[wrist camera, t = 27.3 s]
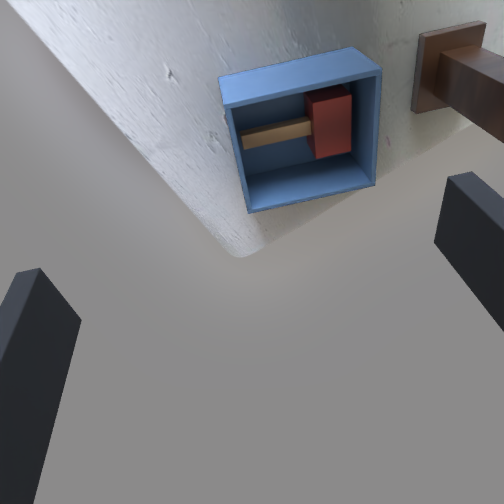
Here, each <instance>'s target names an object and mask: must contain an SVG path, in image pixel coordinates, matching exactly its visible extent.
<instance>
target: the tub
mask: <svg viewBox="0 0 504 504" xmlns="http://www.w3.org/2000/svg"><path fill="white" fill-rule="evenodd" d="M218 81H219V86H220V90H221V95H222V100H223V105H224V109H225V113H226V118H227V122H228V127H229V131H230V136H231V140H232V145H233V149H234V153H235V158H236V162H237V167H238V171H239V176H240V180H241V185H242V189H243V193H244V198H245V202H246V207H247V211H248V214H251V213H255V212H259V211H264V210H268V209H273V208H277V207H282V206H286V205H291V204H295V203H300V202H304V201H309V200H313V199H318V198H322V197H327V196H331V195H336V194H340V193H345V192H349V191H354V190H358V189H362V188H367V187H371V186H375V181H376V165H377V148H378V132H379V116H380V99H381V83H382V68H381V67H380V66H379V65H377V64H376V63H375V62H373V61H372V60H370V59H369V58H368V57H366V56H365V55H364V54H362V53H361V52H359V51H358V50H357V49H355V48H354V47H348V48H344V49H339V50H335V51H330V52H326V53H322V54H317V55H313V56H309V57H304V58H300V59H296V60H291V61H287V62H283V63H278V64H274V65H270V66H265V67H261V68H256V69H252V70H248V71H243V72H239V73H235V74H230V75H226V76H222V77H218ZM337 84H342V85H343V86H344V87H345V88H346V89H347V90H348V91H349V92H350V93H351V94H352V125H351V151H349V152H345V153H340V154H336V155H331V156H327V157H323V158H318V159H316V158H315V156H314V154H313V153H312V151H311V149H310V147H309V145H308V144H307V136H303V137H298V138H294V139H289V140H285V141H280V142H276V143H272V144H267V145H263V146H258V147H254V148H249V149H245V150H244V149H243V145H242V141H241V136H240V131H242V130H247V129H251V128H255V127H260V126H264V125H269V124H273V123H278V122H282V121H286V120H291V119H295V118H300V117H304V116H305V108H304V95H303V92H306V91H310V90H315V89H319V88H324V87H328V86H332V85H337Z"/></svg>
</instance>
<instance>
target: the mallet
mask: <svg viewBox="0 0 504 504" xmlns="http://www.w3.org/2000/svg"><path fill="white" fill-rule="evenodd" d="M303 95H304V108H305V116H304V117H300V118H295V119H291V120H286V121H282V122H278V123H273V124H269V125H264V126H260V127H255V128H251V129H247V130H242V131H240V136H241V141H242V145H243V149H244V150H245V149H249V148H254V147H258V146H263V145H267V144H272V143H276V142H280V141H285V140H289V139H294V138H298V137H303V136H307V144H308V145H309V147H310V149H311V151H312V153H313V154H314V156H315V158H316V159H318V158H323V157H327V156H331V155H336V154H340V153H345V152H349V151H351V125H352V94H351V93H350V92H349V91H348V90H347V89H346V88H345V87H344V86H343V85H342V84H337V85H332V86H328V87H324V88H319V89H315V90H310V91H306V92H303Z"/></svg>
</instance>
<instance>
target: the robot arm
mask: <svg viewBox="0 0 504 504" xmlns="http://www.w3.org/2000/svg"><path fill="white" fill-rule="evenodd" d="M434 243H435V244H436V246H437V247H438V248H439V250H440V251H441V252H442V254H444V256H445V257H446V259H448V261H449V262H450V264H451V265H452V266H453V268H454V269H455V270H456V271H457V273H458V274H459V275H460V276H461V278H462V279H463V280H464V282H465V283H466V284H467V285H468V287H469V288H470V289H471V291H472V292H473V293H474V294H475V296H476V297H477V298H478V300H479V301H480V302H481V303H482V305H483V306H484V307H485V308H486V310H487V311H488V312H489V314H490V315H491V316H492V317H493V319H494V320H495V321H496V322H497V324H498V325H499V326H500V328H501V329H502V330H503V331H504V198H502V197H501V196H500V195H499V194H498V193H497V192H495V191H494V190H493V189H492V188H491V187H490V186H488V185H487V184H486V183H485V182H484V181H482V180H481V179H480V178H479V177H478V176H477V175H476V174H474V173H473V172H467V173H463V174H458V175H454V176H449V177H448V178H447V183H446V187H445V192H444V197H443V201H442V206H441V211H440V217H439V220H438V225H437V230H436V234H435V239H434ZM80 324H81V319H80V317H79V316H78V315H77V314H76V312H75V311H74V310H73V309H72V307H71V306H70V305H69V304H68V302H67V301H66V300H65V298H64V297H63V296H62V295H61V293H60V292H59V291H58V290H57V288H56V287H55V286H54V285H53V283H52V282H51V281H50V280H49V278H48V277H47V276H46V275H45V273H44V272H43V271H42V270H41V268H37V269H32V270H28V271H23V272H19V273H16V275H15V277H14V279H13V281H12V283H11V286H10V288H9V290H8V292H7V294H6V296H5V298H4V300H3V302H2V304H1V306H0V504H33V502H34V499H35V495H36V491H37V487H38V484H39V480H40V476H41V472H42V468H43V465H44V461H45V457H46V453H47V449H48V446H49V442H50V438H51V434H52V430H53V427H54V423H55V419H56V415H57V412H58V408H59V404H60V400H61V396H62V393H63V388H64V385H65V381H66V377H67V374H68V370H69V366H70V362H71V358H72V355H73V351H74V347H75V343H76V339H77V335H78V332H79V328H80Z"/></svg>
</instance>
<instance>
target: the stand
mask: <svg viewBox="0 0 504 504" xmlns="http://www.w3.org/2000/svg"><path fill="white" fill-rule="evenodd" d="M485 28H486V23H484V22H481V21H475V22H471V23H467V24H462V25H458V26H454V27H449V28H445V29H440V30H436V31H432V32H427V33H423V34H420V36H419V44H418V53H417V61H416V70H415V78H414V87H413V95H412V104H411V111H413V112H414V113H415V114H419V113H423V112H428V111H432V110H437V109H441V108H446V107H451V108H453V109H454V110H456V111H457V112H459V113H460V114H462V115H463V116H465V117H466V118H467V119H469V120H470V121H472V122H473V123H475V124H476V125H478V126H479V127H481V128H482V129H484V130H485V131H486V132H488V133H489V134H491V135H492V136H494V137H495V138H497V139H498V140H500V141H501V142H502V143H504V57H502V56H500V55H497V54H495V53H492V52H490V51H488V50H485V49H483V48H481V46H482V41H483V37H484V32H485Z"/></svg>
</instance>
